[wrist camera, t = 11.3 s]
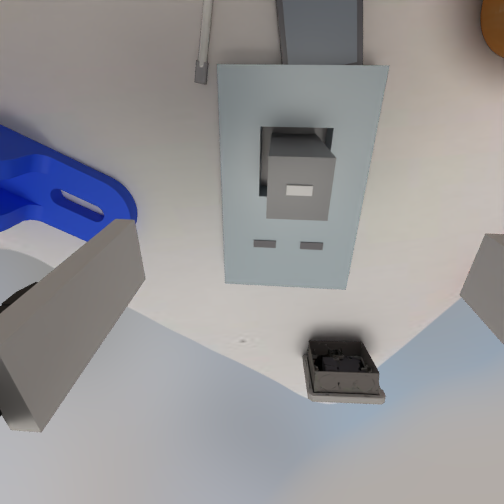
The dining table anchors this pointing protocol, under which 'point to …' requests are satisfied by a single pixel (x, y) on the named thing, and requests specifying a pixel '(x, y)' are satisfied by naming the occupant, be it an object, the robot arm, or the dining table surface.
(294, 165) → the plug
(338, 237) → the plate
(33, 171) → the bracket
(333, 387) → the electrical switch
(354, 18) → the phone
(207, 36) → the usb cable
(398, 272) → the dining table surface
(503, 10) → the flower pot
